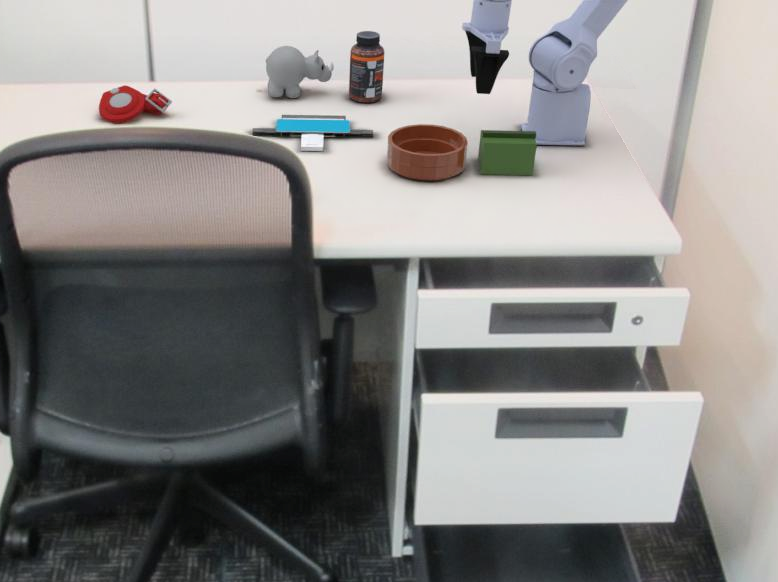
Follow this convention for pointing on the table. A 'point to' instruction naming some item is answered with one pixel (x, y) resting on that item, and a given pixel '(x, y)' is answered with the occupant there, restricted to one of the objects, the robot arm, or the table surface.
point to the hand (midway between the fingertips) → (480, 84)
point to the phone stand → (312, 129)
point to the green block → (507, 152)
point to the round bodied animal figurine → (293, 71)
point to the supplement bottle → (366, 68)
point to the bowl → (426, 152)
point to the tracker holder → (130, 104)
